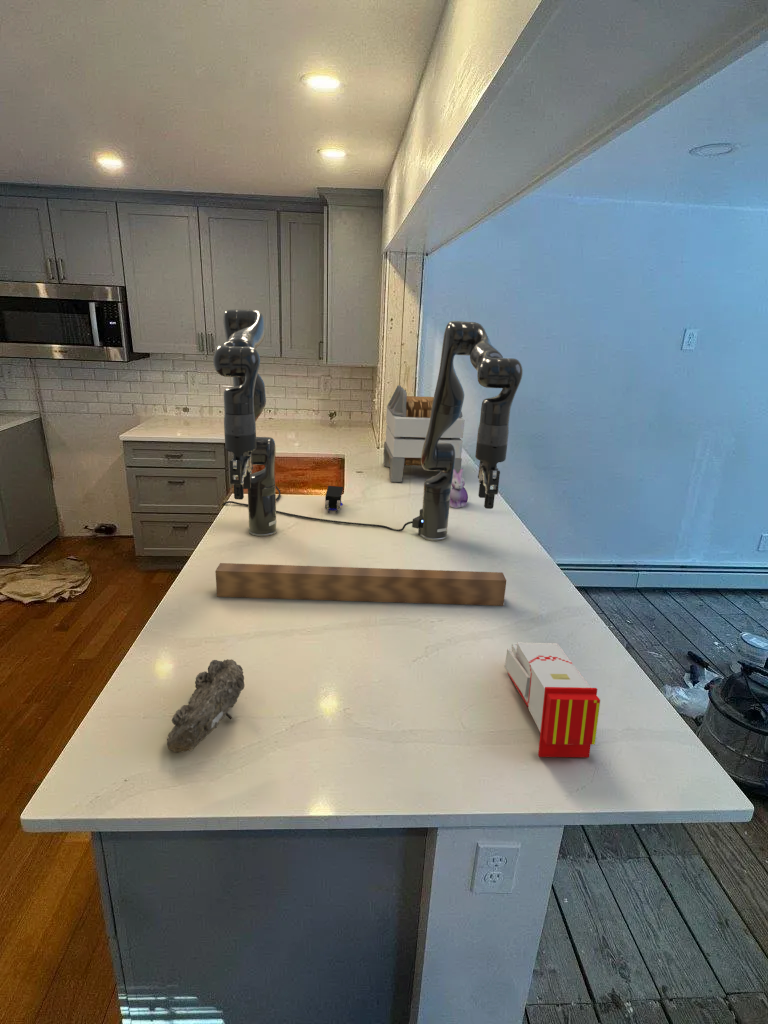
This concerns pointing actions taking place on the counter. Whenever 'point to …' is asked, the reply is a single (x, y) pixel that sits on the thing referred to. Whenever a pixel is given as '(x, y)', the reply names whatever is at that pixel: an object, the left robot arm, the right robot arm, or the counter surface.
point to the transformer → (413, 432)
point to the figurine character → (333, 498)
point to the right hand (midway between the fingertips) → (485, 502)
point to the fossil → (206, 705)
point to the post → (360, 584)
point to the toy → (555, 698)
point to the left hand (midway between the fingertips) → (242, 493)
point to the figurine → (458, 490)
